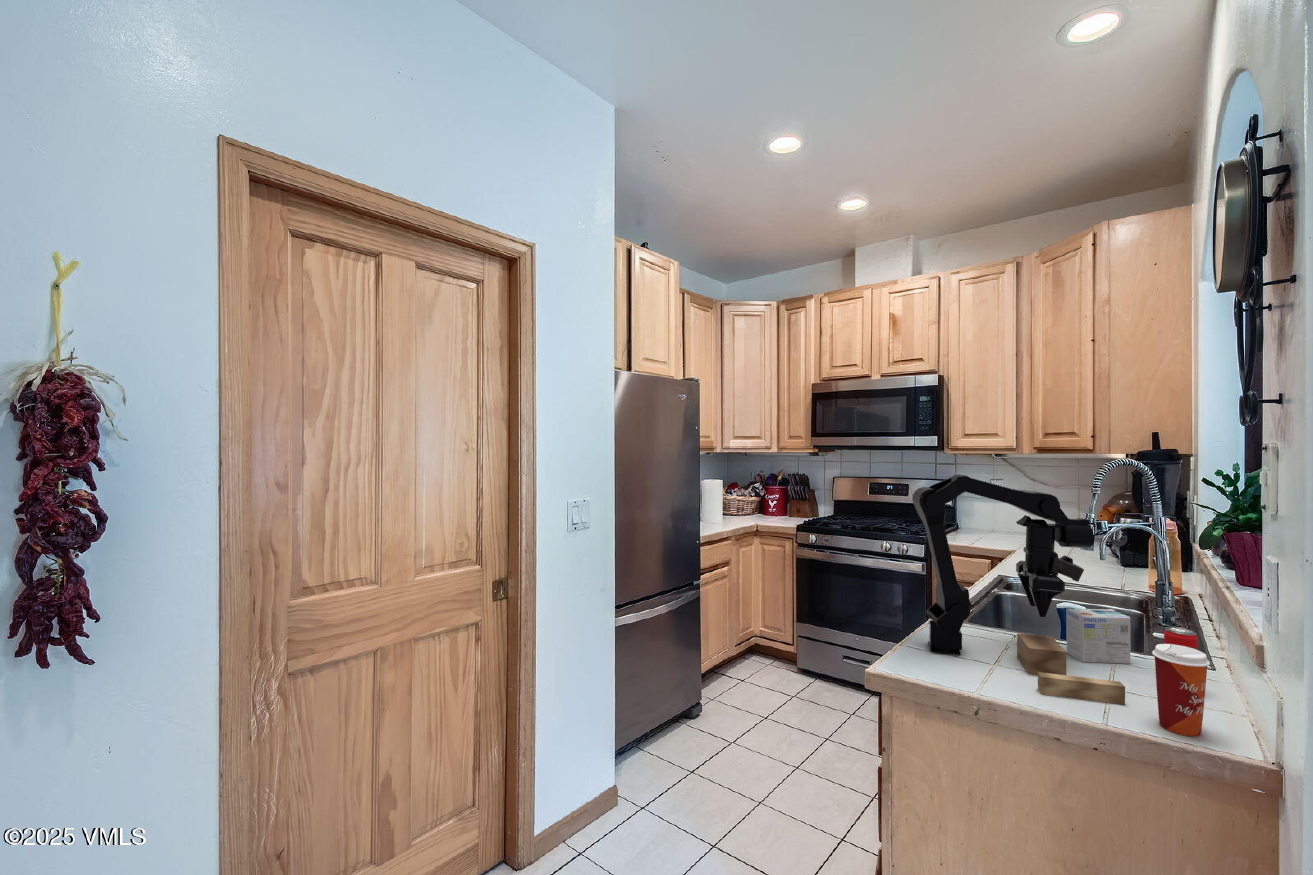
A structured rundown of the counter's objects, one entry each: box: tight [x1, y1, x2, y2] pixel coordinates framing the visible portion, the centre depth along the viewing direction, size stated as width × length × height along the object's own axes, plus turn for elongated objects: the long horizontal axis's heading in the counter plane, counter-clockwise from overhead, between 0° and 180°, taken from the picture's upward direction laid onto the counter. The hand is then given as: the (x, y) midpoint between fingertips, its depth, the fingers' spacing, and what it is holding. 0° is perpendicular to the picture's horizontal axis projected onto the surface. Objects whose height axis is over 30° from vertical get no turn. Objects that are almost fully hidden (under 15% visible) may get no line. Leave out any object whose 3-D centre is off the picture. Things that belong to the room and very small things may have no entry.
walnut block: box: [1016, 632, 1068, 677], centre depth 132 cm, size 7×10×6 cm
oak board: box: [1037, 672, 1126, 705], centre depth 118 cm, size 14×2×4 cm, turn 70°
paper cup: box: [1151, 643, 1211, 738], centre depth 105 cm, size 8×8×14 cm
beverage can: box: [1163, 626, 1199, 650], centre depth 121 cm, size 5×5×12 cm
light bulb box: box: [1065, 608, 1131, 664], centre depth 138 cm, size 11×7×11 cm, turn 84°
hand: (1037, 611), depth 140 cm, fingers open, 9 cm apart
